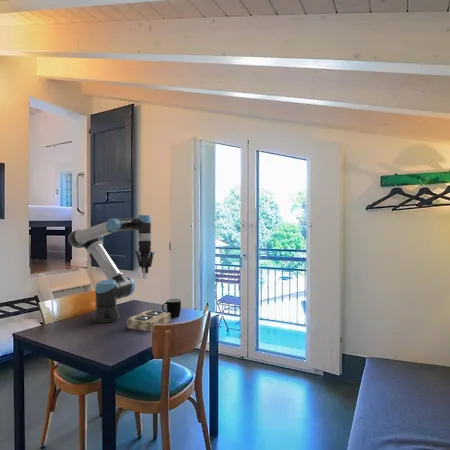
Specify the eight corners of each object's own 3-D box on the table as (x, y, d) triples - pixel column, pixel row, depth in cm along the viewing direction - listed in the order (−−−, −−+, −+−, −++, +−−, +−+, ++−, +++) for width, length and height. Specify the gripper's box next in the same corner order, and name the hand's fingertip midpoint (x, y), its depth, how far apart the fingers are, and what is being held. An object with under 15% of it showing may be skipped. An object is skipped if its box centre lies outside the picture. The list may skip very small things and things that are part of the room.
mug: (182, 314, 224) (182, 298, 224) (179, 318, 215) (179, 302, 215) (164, 313, 225) (164, 298, 225) (160, 318, 216) (159, 301, 216)
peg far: (150, 321, 207) (150, 313, 207) (153, 319, 211) (153, 311, 211) (155, 322, 206) (155, 314, 206) (158, 320, 209) (158, 312, 209)
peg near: (139, 326, 198) (139, 318, 198) (143, 324, 202) (143, 316, 201) (145, 327, 197) (144, 318, 197) (148, 325, 200) (148, 317, 200)
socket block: (127, 327, 198) (127, 318, 198) (148, 318, 216) (148, 309, 216) (150, 331, 192) (150, 321, 191) (170, 321, 210) (170, 312, 210)
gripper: (132, 240, 214) (132, 278, 215) (150, 240, 209) (150, 280, 210) (139, 239, 221) (140, 276, 222) (157, 240, 216) (157, 278, 217)
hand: (145, 278), depth 216 cm, fingers closed
